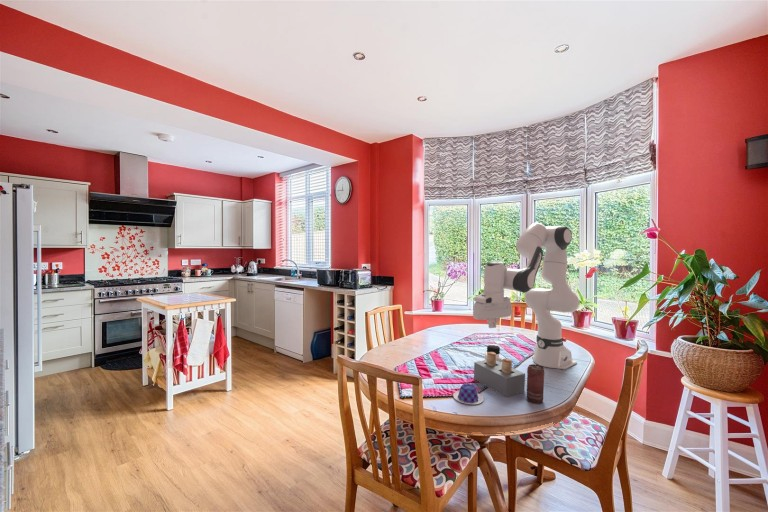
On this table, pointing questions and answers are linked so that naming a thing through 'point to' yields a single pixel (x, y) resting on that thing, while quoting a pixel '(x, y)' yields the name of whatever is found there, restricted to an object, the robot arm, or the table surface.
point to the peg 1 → (491, 359)
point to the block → (499, 378)
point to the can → (535, 383)
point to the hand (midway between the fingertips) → (492, 327)
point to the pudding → (468, 394)
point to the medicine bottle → (496, 350)
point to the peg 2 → (506, 366)
